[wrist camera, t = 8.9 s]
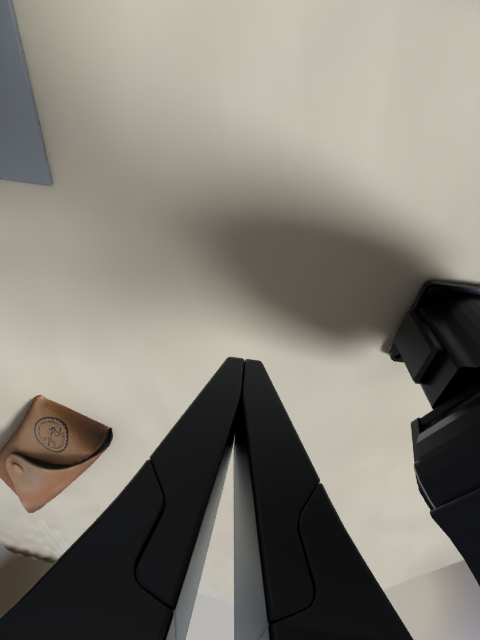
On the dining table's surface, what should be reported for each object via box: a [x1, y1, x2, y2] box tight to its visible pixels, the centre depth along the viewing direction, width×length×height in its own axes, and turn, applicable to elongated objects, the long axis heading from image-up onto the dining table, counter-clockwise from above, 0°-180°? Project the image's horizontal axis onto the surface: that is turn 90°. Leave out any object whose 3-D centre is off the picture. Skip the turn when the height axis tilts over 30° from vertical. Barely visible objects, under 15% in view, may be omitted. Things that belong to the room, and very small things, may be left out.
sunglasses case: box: [0, 395, 113, 513], centre depth 35 cm, size 18×7×7 cm, turn 141°
